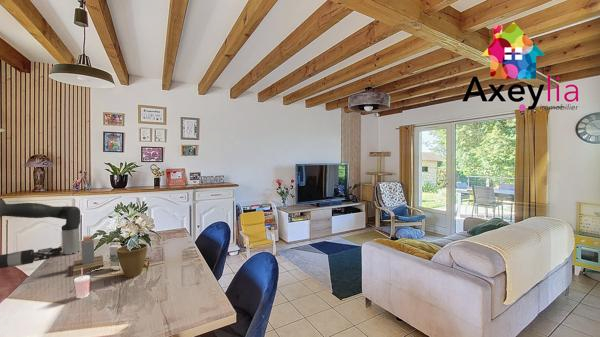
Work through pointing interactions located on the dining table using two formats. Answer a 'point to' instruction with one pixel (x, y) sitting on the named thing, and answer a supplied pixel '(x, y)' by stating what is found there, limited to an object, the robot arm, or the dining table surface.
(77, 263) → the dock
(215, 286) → the dining table surface
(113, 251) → the syrup box
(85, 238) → the block
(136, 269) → the plant pot
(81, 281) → the beverage cup
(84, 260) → the grey open box
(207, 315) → the dining table surface
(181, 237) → the dining table surface
